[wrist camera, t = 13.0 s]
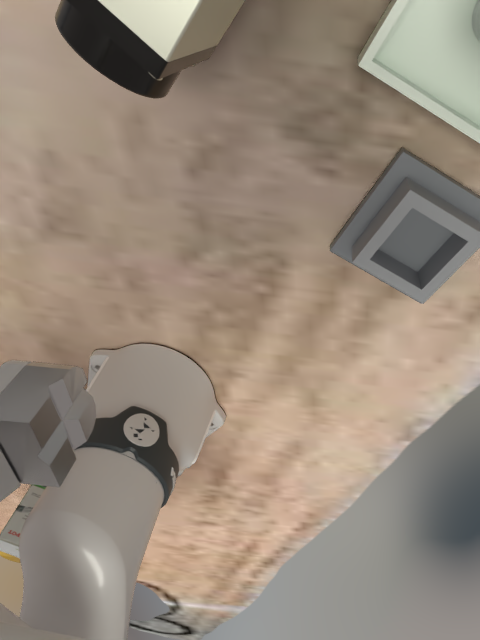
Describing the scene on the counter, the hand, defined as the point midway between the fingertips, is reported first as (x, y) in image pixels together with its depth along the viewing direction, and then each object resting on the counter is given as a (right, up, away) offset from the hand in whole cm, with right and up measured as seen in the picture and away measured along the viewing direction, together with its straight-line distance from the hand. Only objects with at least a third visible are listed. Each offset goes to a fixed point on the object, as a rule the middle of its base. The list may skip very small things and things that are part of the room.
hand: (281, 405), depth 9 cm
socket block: (+14, +10, +30) cm, 34 cm away
